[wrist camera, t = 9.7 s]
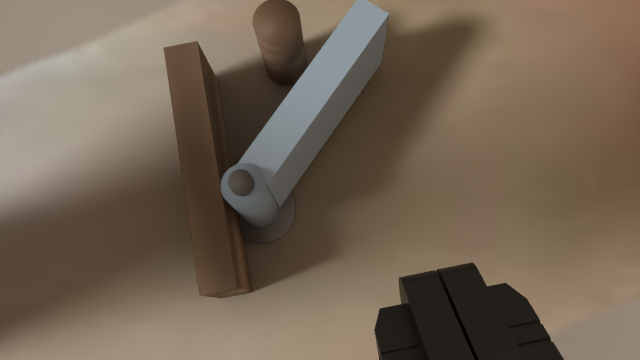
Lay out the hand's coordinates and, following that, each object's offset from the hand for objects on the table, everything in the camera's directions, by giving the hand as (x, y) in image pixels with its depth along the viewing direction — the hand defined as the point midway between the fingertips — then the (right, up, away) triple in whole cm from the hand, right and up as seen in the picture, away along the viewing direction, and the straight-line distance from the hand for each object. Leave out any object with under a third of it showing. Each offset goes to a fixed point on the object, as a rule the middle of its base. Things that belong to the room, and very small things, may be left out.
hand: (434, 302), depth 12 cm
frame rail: (-8, +3, +30) cm, 31 cm away
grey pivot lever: (-3, +5, +30) cm, 30 cm away
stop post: (-5, +11, +31) cm, 34 cm away
